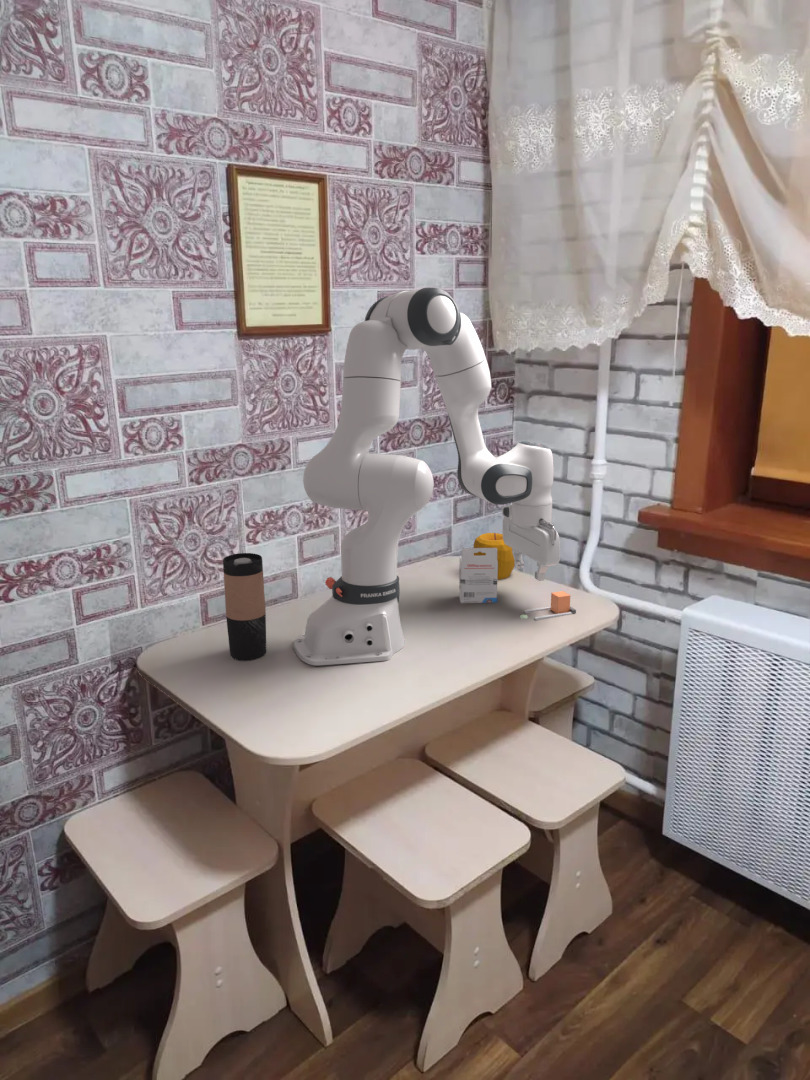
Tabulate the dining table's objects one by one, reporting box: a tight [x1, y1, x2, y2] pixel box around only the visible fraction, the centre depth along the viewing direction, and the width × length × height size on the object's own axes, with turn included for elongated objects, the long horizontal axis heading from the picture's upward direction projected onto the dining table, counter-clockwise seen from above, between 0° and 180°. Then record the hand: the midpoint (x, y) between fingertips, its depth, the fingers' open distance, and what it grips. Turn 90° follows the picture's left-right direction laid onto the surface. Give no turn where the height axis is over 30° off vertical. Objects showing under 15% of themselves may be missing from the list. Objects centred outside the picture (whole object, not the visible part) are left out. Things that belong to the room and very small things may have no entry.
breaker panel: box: [519, 605, 577, 621], centre depth 178 cm, size 12×15×3 cm
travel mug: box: [222, 552, 267, 662], centre depth 155 cm, size 8×8×20 cm
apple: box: [472, 532, 515, 581], centre depth 199 cm, size 11×11×13 cm
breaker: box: [550, 590, 571, 614], centre depth 175 cm, size 3×3×4 cm
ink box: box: [458, 547, 498, 604], centre depth 182 cm, size 8×5×15 cm, turn 91°
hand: (529, 573), depth 179 cm, fingers open, 8 cm apart
